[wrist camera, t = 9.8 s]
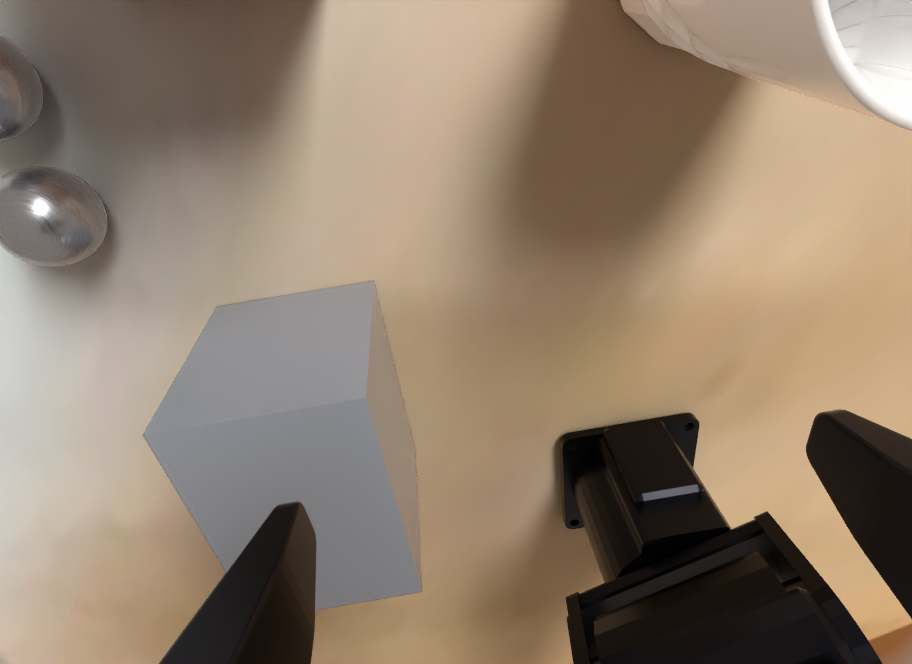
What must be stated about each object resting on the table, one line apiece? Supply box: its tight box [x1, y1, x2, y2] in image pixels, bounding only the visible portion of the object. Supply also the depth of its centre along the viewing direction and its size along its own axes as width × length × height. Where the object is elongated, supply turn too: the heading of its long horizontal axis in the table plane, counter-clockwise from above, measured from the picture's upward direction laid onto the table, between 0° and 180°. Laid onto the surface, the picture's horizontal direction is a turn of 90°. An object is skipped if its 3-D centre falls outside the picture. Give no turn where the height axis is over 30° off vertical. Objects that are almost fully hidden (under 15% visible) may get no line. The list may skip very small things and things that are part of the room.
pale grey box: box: [143, 281, 422, 610], centre depth 20 cm, size 9×6×7 cm, turn 8°
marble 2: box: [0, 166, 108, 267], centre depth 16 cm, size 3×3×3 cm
